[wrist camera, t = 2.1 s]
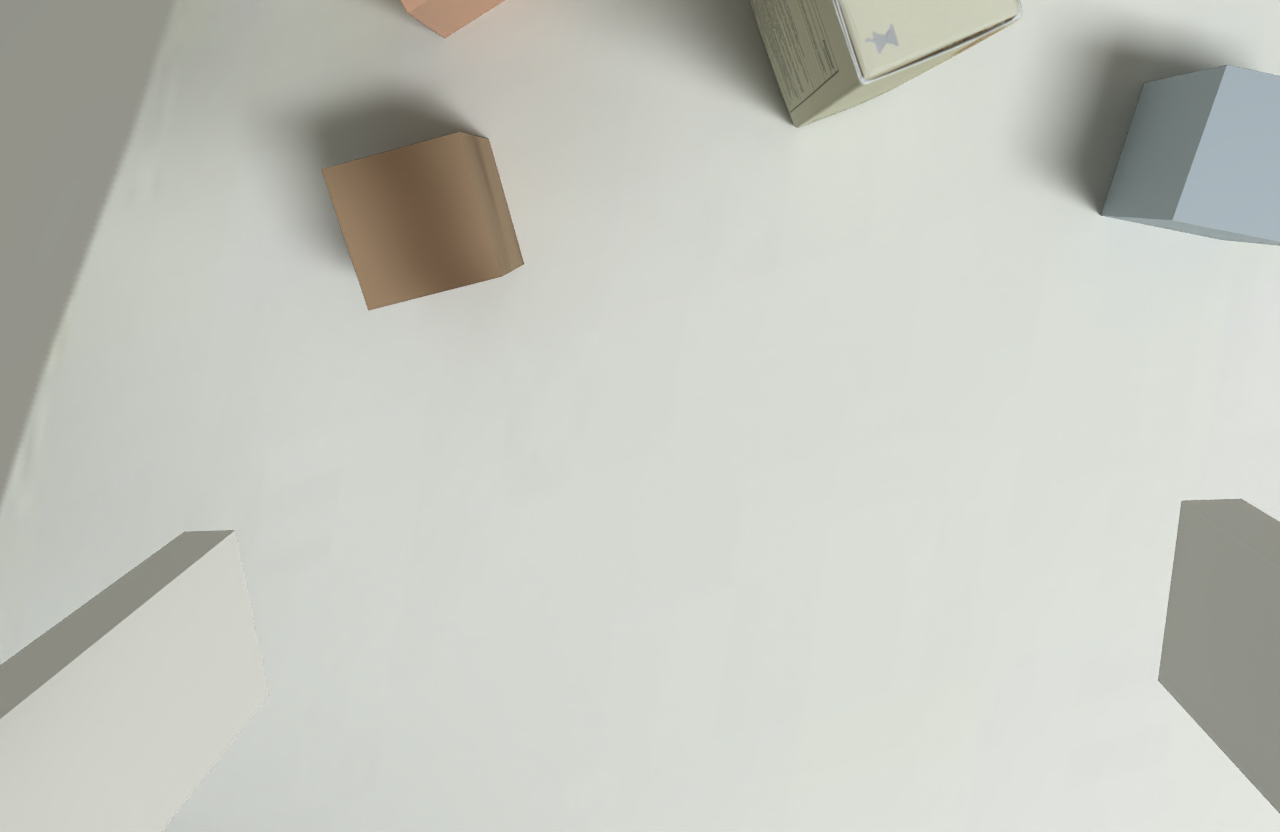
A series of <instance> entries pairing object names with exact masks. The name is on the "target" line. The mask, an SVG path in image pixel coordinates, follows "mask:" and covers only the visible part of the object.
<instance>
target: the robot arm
mask: <svg viewBox="0 0 1280 832" xmlns="http://www.w3.org/2000/svg"><path fill="white" fill-rule="evenodd" d="M1158 681H1159V682H1160V683H1161V684H1162V685H1163V686H1164V687H1165V689H1166V690H1167V691H1168V692H1169V693H1170V694H1171V695H1172V696H1173V697H1174V698H1175V699H1176V701H1177V702H1178V703H1179V704H1180V705H1181V706H1182V707H1183V708H1184V709H1185V710H1186V712H1187V713H1188V714H1189V715H1190V716H1191V717H1192V718H1193V719H1194V720H1195V721H1196V722H1197V724H1198V725H1199V726H1200V727H1201V728H1202V729H1203V730H1204V731H1205V732H1206V733H1207V735H1208V736H1209V737H1210V738H1211V739H1212V740H1213V741H1214V742H1215V743H1216V744H1217V745H1218V747H1219V748H1220V749H1221V750H1222V751H1223V752H1224V753H1225V754H1226V755H1227V756H1228V758H1229V759H1230V760H1231V761H1232V762H1233V763H1234V764H1235V765H1236V766H1237V767H1238V768H1239V770H1240V771H1241V772H1242V773H1243V774H1244V775H1245V776H1246V777H1247V778H1248V779H1249V781H1250V782H1251V783H1252V784H1253V785H1254V786H1255V787H1256V788H1257V789H1258V790H1259V791H1260V793H1261V794H1262V795H1263V796H1264V797H1265V798H1266V799H1267V800H1268V801H1269V802H1270V804H1271V805H1272V806H1273V807H1274V808H1275V809H1276V810H1277V811H1278V812H1279V813H1280V522H1279V521H1277V520H1276V519H1274V518H1272V517H1271V516H1269V515H1267V514H1266V513H1264V512H1262V511H1261V510H1259V509H1257V508H1256V507H1254V506H1252V505H1251V504H1249V503H1247V502H1246V501H1244V500H1242V499H1222V500H1190V501H1181V509H1180V517H1179V524H1178V532H1177V540H1176V547H1175V555H1174V562H1173V570H1172V578H1171V585H1170V593H1169V601H1168V608H1167V616H1166V623H1165V631H1164V639H1163V646H1162V654H1161V662H1160V669H1159V677H1158ZM268 697H269V691H268V686H267V681H266V676H265V671H264V667H263V662H262V657H261V652H260V647H259V642H258V638H257V633H256V628H255V623H254V618H253V613H252V609H251V604H250V599H249V594H248V589H247V585H246V580H245V575H244V570H243V565H242V560H241V556H240V551H239V546H238V541H237V536H236V531H235V530H226V531H194V532H183V533H182V534H181V535H179V536H178V537H176V538H175V539H174V540H172V541H171V542H170V543H168V544H167V545H165V546H164V547H163V548H161V549H160V550H159V551H157V552H156V553H154V554H153V555H152V556H150V557H149V558H148V559H146V560H145V561H143V562H142V563H141V564H139V565H138V566H137V567H135V568H134V569H132V570H131V571H130V572H128V573H127V574H125V575H124V576H123V577H121V578H120V579H119V580H117V581H116V582H114V583H113V584H112V585H110V586H109V587H108V588H106V589H105V590H103V591H102V592H101V593H99V594H98V595H97V596H95V597H94V598H92V599H91V600H90V601H88V602H87V603H86V604H84V605H83V606H81V607H80V608H79V609H77V610H76V611H75V612H73V613H72V614H70V615H69V616H68V617H66V618H65V619H63V620H62V621H61V622H59V623H58V624H57V625H55V626H54V627H52V628H51V629H50V630H48V631H47V632H46V633H44V634H43V635H41V636H40V637H39V638H37V639H36V640H35V641H33V642H32V643H30V644H29V645H28V646H26V647H25V648H24V649H22V650H21V651H19V652H18V653H17V654H15V655H14V656H13V657H11V658H10V659H8V660H7V661H6V662H4V663H3V664H1V665H0V832H162V831H163V830H164V828H165V827H166V826H167V825H168V823H169V822H170V821H171V820H172V818H173V817H174V816H175V815H176V813H177V812H178V811H179V809H180V808H181V807H182V806H183V804H184V803H185V802H186V801H187V799H188V798H189V797H190V796H191V794H192V793H193V792H194V790H195V789H196V788H197V787H198V785H199V784H200V783H201V782H202V780H203V779H204V778H205V777H206V775H207V774H208V773H209V772H210V770H211V769H212V768H213V766H214V765H215V764H216V763H217V761H218V760H219V759H220V758H221V756H222V755H223V754H224V753H225V751H226V750H227V749H228V747H229V746H230V745H231V744H232V742H233V741H234V740H235V739H236V737H237V736H238V735H239V734H240V732H241V731H242V730H243V729H244V727H245V726H246V725H247V723H248V722H249V721H250V720H251V718H252V717H253V716H254V715H255V713H256V712H257V711H258V710H259V708H260V707H261V706H262V704H263V703H264V702H265V701H266V699H267V698H268Z"/></svg>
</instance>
